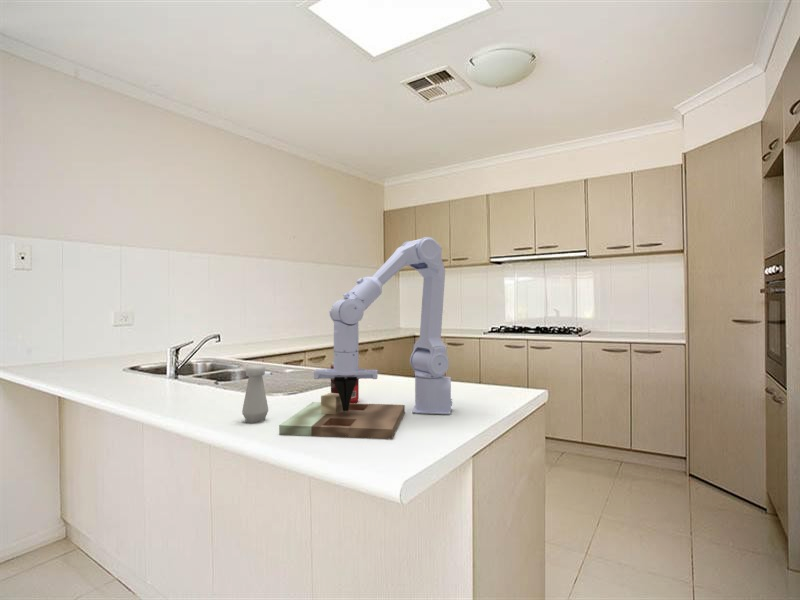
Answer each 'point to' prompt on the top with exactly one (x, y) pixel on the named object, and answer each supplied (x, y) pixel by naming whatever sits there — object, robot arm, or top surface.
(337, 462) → the top surface
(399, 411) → the trap deck
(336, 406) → the maple block
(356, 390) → the canned food
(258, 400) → the salt shaker
